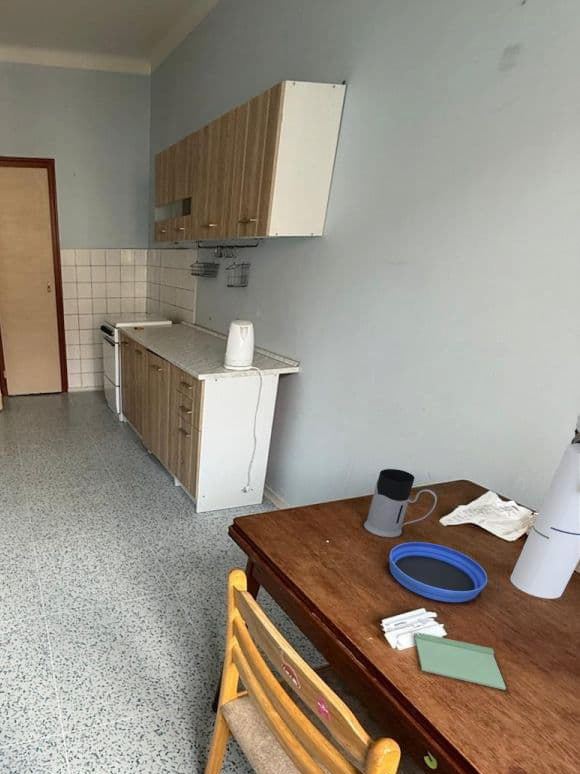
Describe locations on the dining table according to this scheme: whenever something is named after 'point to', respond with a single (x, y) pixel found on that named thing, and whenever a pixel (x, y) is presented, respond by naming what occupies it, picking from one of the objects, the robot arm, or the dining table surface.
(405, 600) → the dining table surface
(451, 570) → the bowl
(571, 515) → the cylindrical container
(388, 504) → the glass holder
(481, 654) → the green flat panel
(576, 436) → the robot arm
